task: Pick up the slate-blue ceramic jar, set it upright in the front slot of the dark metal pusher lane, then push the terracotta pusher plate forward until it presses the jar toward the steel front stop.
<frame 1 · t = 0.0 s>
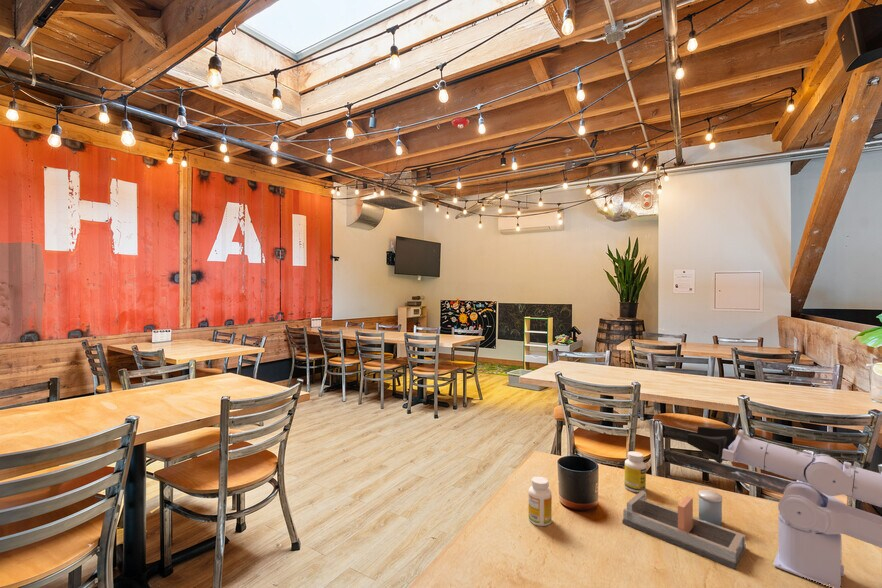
hand: (693, 434, 94), 22 cm above the table, tool horizontal, fingers open, 7 cm apart
pusher plate: (685, 516, 90), point 4 cm above the table, slide at 0.0 cm
supplement bottle 2: (635, 489, 113), on the table
pusher lane: (680, 535, 91), on the table
supplement bottle: (539, 521, 96), on the table
jar: (710, 521, 96), on the table
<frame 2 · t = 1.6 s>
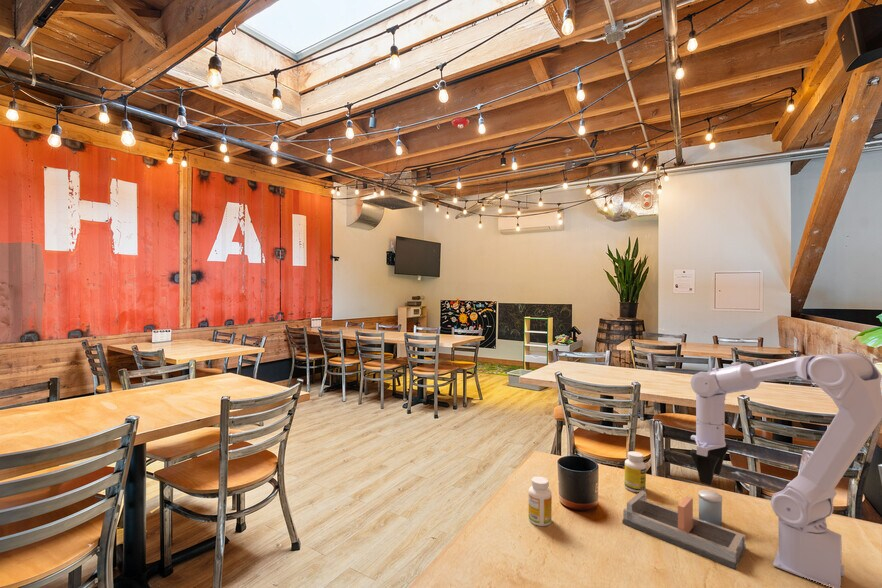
hand: (710, 478, 96), 10 cm above the table, tool pointing down, fingers open, 7 cm apart
nothing on the table moved.
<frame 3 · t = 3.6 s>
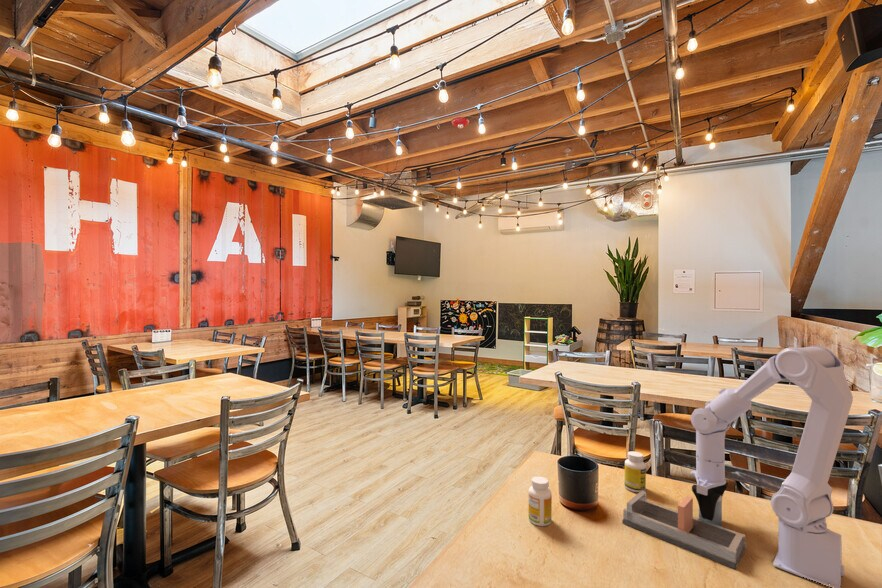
hand: (710, 514, 96), 2 cm above the table, tool pointing down, fingers closed on jar, 5 cm apart
jar: (710, 521, 96), on the table, touching gripper
everything else where it was.
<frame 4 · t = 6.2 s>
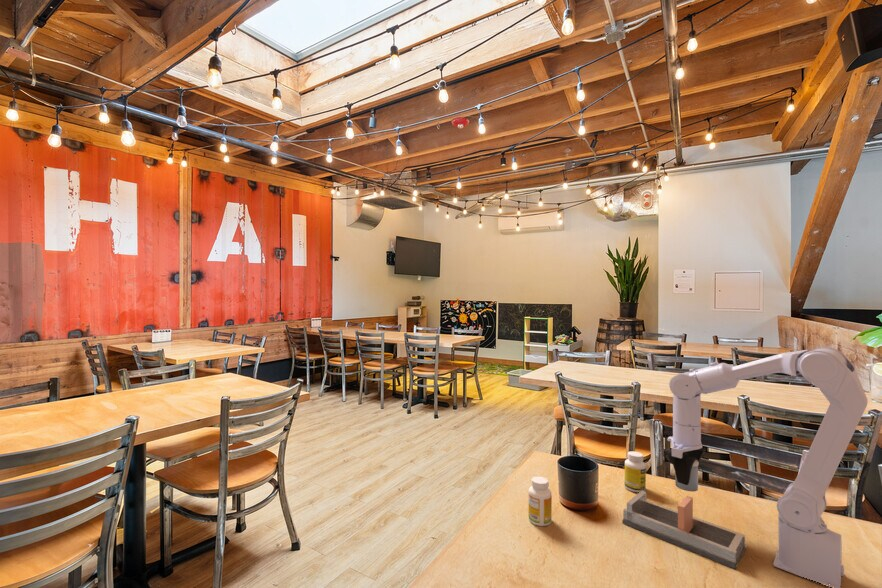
hand: (686, 480, 96), 10 cm above the table, tool pointing down, fingers closed on jar, 5 cm apart
jar: (686, 486, 96), point 9 cm above the table, touching gripper
everything else where it was.
when the fingers open (4 cm above the table, at t = 8.9 s): jar drops 1 cm, resting on pusher lane.
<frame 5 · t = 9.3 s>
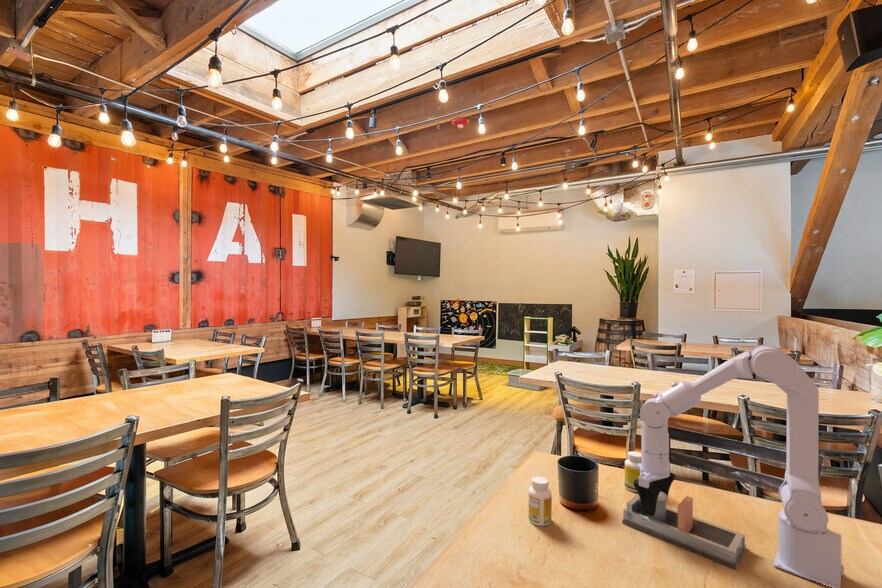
hand: (654, 508, 95), 4 cm above the table, tool pointing down, fingers open, 7 cm apart
jar: (655, 521, 95), point 1 cm above the table, touching pusher lane
everything else where it was.
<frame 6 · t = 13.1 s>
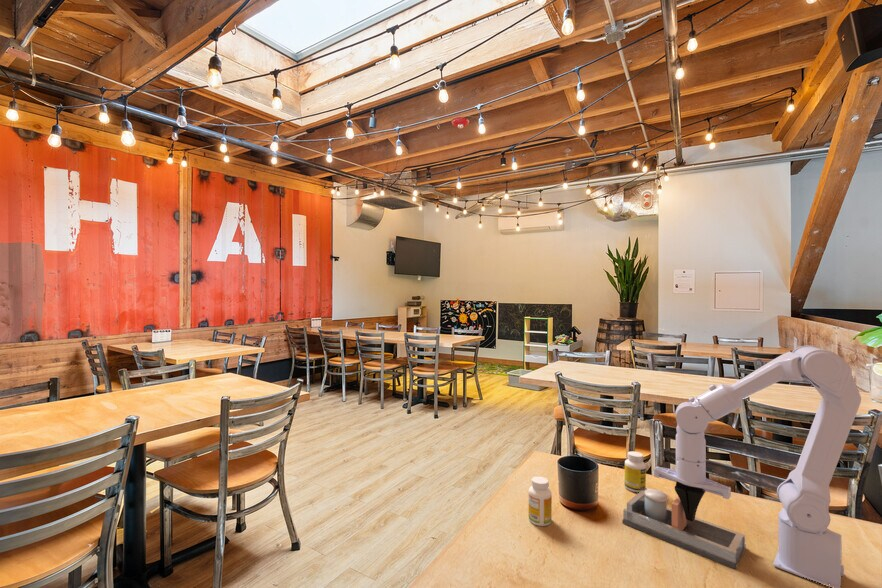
hand: (690, 518, 89), 4 cm above the table, tool pointing down, fingers closed
pusher plate: (679, 514, 91), point 4 cm above the table, slide at 1.3 cm, touching gripper
everything else where it was.
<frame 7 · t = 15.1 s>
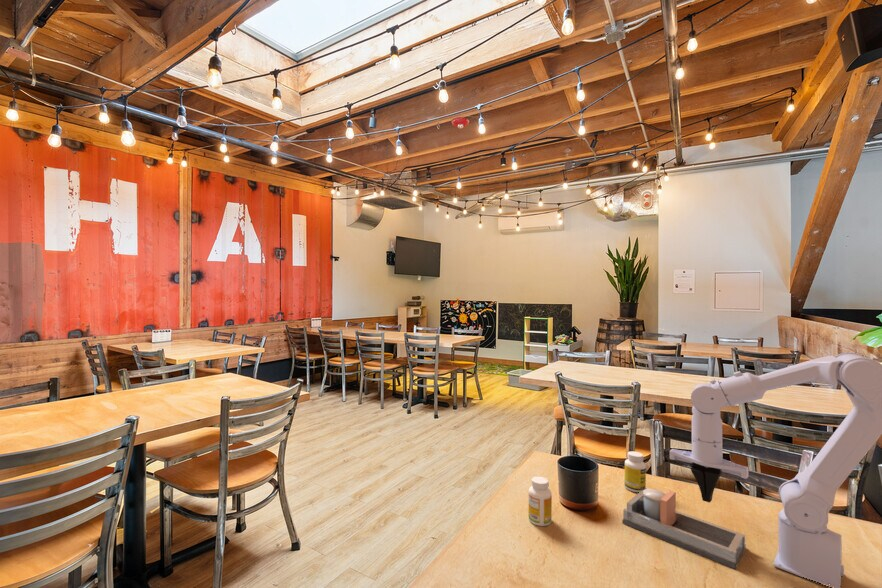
hand: (707, 500, 89), 9 cm above the table, tool pointing down, fingers closed
pusher plate: (668, 510, 93), point 5 cm above the table, slide at 3.5 cm, touching jar
jar: (654, 521, 95), point 1 cm above the table, touching pusher lane, pusher plate
everything else where it was.
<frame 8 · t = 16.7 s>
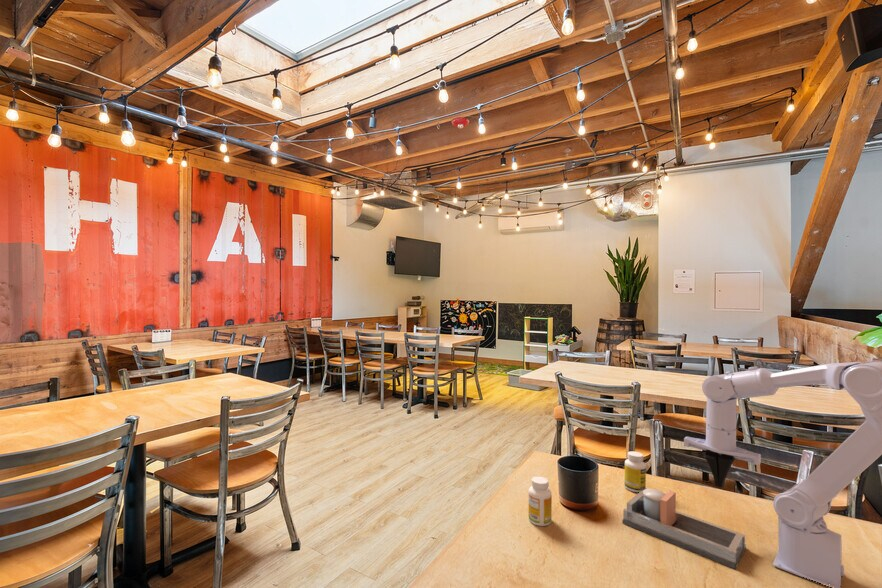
hand: (719, 485, 93), 10 cm above the table, tool pointing down, fingers closed
nothing on the table moved.
at the end: jar 0.7 cm from the target spot, point 0.8 cm above the table; jar tilted 1°; pusher plate slide at 3.5 cm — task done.
